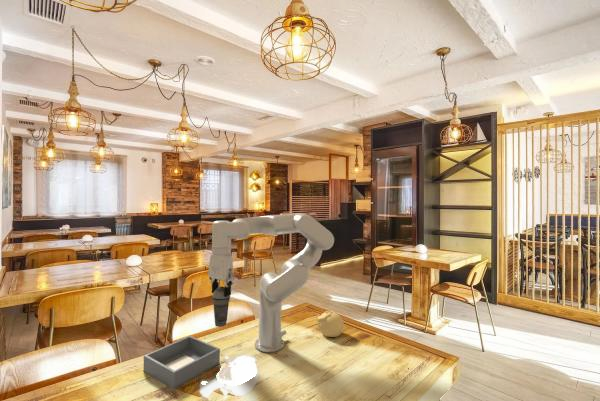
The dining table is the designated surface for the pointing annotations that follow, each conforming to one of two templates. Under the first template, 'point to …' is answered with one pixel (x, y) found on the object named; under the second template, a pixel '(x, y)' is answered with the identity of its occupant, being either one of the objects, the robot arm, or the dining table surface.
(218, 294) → the beverage cup
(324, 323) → the sculpture
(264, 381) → the dining table surface
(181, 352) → the walled bin
